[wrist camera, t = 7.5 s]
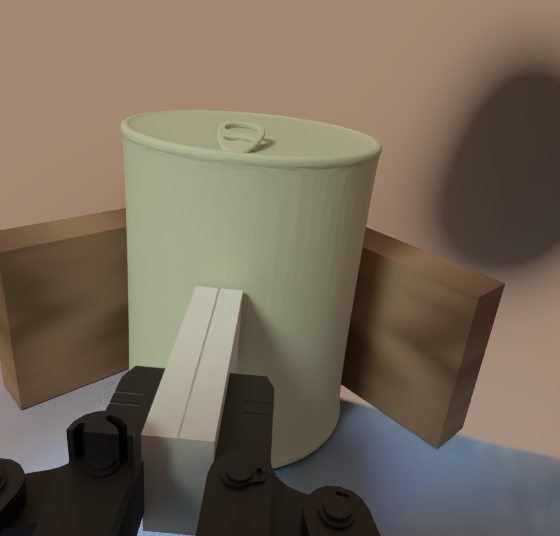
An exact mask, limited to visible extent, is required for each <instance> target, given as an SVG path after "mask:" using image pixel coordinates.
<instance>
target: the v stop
mask: <svg viewBox="0 0 560 536" xmlns="http://www.w3.org/2000/svg"><path fill="white" fill-rule="evenodd" d="M504 286H505V283H503V282H500V281H498V280H495V279H493V278H490V277H488V276H485V275H483V274H481V273H478V272H475V271H473V270H471V269H468V268H466V267H463V266H461V265H458V264H456V263H453V262H451V261H449V260H446V259H444V258H441V257H439V256H436V255H434V254H431V253H428V252H426V251H424V250H421V249H419V248H416V247H414V246H412V245H409V244H407V243H404V242H401V241H399V240H397V239H394V238H392V237H389V236H387V235H384V234H382V233H379V232H377V231H375V230H372V229H370V228H367V227H366V229H365V235H364V241H363V247H362V253H361V259H360V265H359V271H358V277H357V283H356V289H355V294H354V300H353V306H352V312H351V319H350V325H349V331H348V337H347V344H346V350H345V357H344V364H343V371H342V378H341V385H343V386H345V387H346V388H347V389H349V390H350V391H352V392H353V393H355V394H356V395H358V396H359V397H361V398H362V399H364V400H365V401H367V402H368V403H370V404H371V405H373V406H374V407H376V408H377V409H379V410H380V411H382V412H383V413H385V414H386V415H388V416H389V417H391V418H392V419H394V420H395V421H397V422H398V423H400V424H401V425H403V426H404V427H405V428H407V429H408V430H410V431H411V432H413V433H414V434H416V435H417V436H419V437H420V438H422V439H423V440H425V441H426V442H428V443H429V444H431V445H432V446H434V447H435V448H437V449H438V448H439V447H440V446H441V445H442V444H444V443H445V442H446V441H447V440H448V439H450V438H451V437H452V436H453V435H455V434H456V433H457V432H458V431H459V430H461V429H462V427H463V424H464V421H465V418H466V414H467V411H468V407H469V404H470V401H471V397H472V394H473V390H474V387H475V384H476V380H477V377H478V373H479V370H480V367H481V363H482V360H483V357H484V353H485V349H486V347H487V343H488V340H489V336H490V333H491V330H492V326H493V323H494V319H495V316H496V313H497V309H498V306H499V303H500V299H501V296H502V292H503V289H504ZM0 362H1V368H2V375H3V381H4V386H5V387H6V388H7V390H8V391H9V393H10V394H11V396H12V397H13V399H14V400H15V401H16V403H17V404H18V406H19V407H20V409H21V410H22V409H25V408H28V407H30V406H33V405H35V404H38V403H41V402H43V401H46V400H48V399H51V398H54V397H56V396H59V395H61V394H64V393H66V392H69V391H72V390H74V389H77V388H79V387H82V386H85V385H87V384H90V383H92V382H95V381H97V380H100V379H103V378H105V377H108V376H110V375H113V374H116V373H118V372H121V371H123V370H126V369H129V311H128V263H127V228H126V208H125V209H120V210H114V211H108V212H102V213H96V214H91V215H85V216H80V217H74V218H68V219H62V220H57V221H51V222H45V223H40V224H34V225H28V226H23V227H17V228H11V229H6V230H0Z"/></svg>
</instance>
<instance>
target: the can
mask: <svg viewBox="0 0 560 536" xmlns="http://www.w3.org/2000/svg"><path fill="white" fill-rule="evenodd" d="M120 128H121V133H122V137H123V150H124V169H125V190H126V228H127V263H128V311H129V371H130V370H131V369H132V368H133V367H135V366H145V367H156V368H166V366H167V363H168V360H169V358H170V355H171V352H172V350H173V347H174V344H175V342H176V339H177V336H178V333H179V331H180V328H181V325H182V323H183V320H184V317H185V315H186V312H187V309H188V306H189V304H190V301H191V298H192V296H193V293H194V290H195V288H196V286H202V287H212V288H222V289H233V290H243V296H242V309H241V323H240V337H239V351H238V364H237V370H236V374H246V375H257V376H267V377H268V379H269V380H270V382H271V384H272V386H273V388H274V389H275V390H274V409H273V428H272V447H271V465H272V468H273V469H274V468H278V467H282V466H285V465H287V464H290V463H293V462H296V461H298V460H300V459H302V458H304V457H305V456H307V455H309V454H310V453H312V452H314V451H315V450H316V449H318V448H319V447H320V446H321V445H322V444H323V443H324V442H325V441H326V440H327V439H328V438H329V436H330V435H331V434H332V432H333V430H334V429H335V427H336V425H337V422H338V419H339V415H340V396H339V395H340V386H341V378H342V371H343V364H344V357H345V350H346V344H347V337H348V331H349V325H350V319H351V312H352V306H353V300H354V294H355V289H356V283H357V277H358V271H359V265H360V259H361V253H362V247H363V241H364V235H365V229H366V223H367V217H368V211H369V206H370V201H371V196H372V190H373V185H374V180H375V174H376V169H377V165H378V160H379V157H380V154H381V151H382V146H381V144H380V142H379V141H377V140H376V139H375V138H373V137H371V136H369V135H367V134H364V133H362V132H359V131H356V130H352V129H349V128H345V127H341V126H337V125H332V124H328V123H323V122H318V121H311V120H306V119H299V118H293V117H285V116H277V115H268V114H259V113H247V112H234V111H213V110H175V111H174V110H173V111H158V112H149V113H142V114H137V115H134V116H131V117H128V118H126V119H125V120H123V122H122V123H121V127H120Z"/></svg>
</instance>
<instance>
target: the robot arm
mask: <svg viewBox="0 0 560 536" xmlns="http://www.w3.org/2000/svg"><path fill="white" fill-rule="evenodd" d="M242 296H243V290H233V289H222V288H212V287H202V286H196V288H195V290H194V293H193V296H192V298H191V301H190V304H189V306H188V309H187V312H186V315H185V317H184V320H183V323H182V325H181V328H180V331H179V333H178V336H177V339H176V342H175V344H174V347H173V350H172V352H171V355H170V358H169V360H168V363H167V366H166V368H156V367H145V366H135V367H133V368H132V369H131V370H130V371H128V372H127V373H126V374H125V375H124V376H122V378H121V380H120V382H119V384H118V386H117V388H116V390H115V393H114V394H113V396H112V399H111V401H110V404H109V405H108V407H107V409H106V411H97V412H93V413H90V414H86V415H84V416H82V417H80V418H79V419H77V420H75V421H74V422H73V423H72V424H71V425H70V426H69V427H68V429H67V430H66V431H67V442H68V452H69V463H68V464H66V465H64V466H61V467H59V468H55V469H51V470H45V471H39V472H33V473H27V474H25V473H24V471H23V469H22V467H21V465H20V464H18V463H16V462H15V461H13V460H11V459H3V458H0V536H137V533H138V530H139V527H140V523H141V520H142V517H143V531H151V532H162V533H174V534H183V535H195V536H380V534H379V531H378V529H377V527H376V524H375V522H374V520H373V517H372V515H371V513H370V510H369V508H368V507H367V506H366V504H365V503H364V501H363V500H362V498H360V497H359V496H358V495H356V494H355V493H354V492H352V491H350V490H347V489H345V488H342V487H337V486H325V487H322V488H318V489H316V490H314V491H313V492H312V493H311V494H309V495H307V494H304V493H302V492H299V491H296V490H294V489H292V488H290V487H288V486H287V485H285V484H284V483H283V482H282V481H280V480H279V478H278V477H277V476H276V475H275V473H274V471H273V468H272V465H271V447H272V428H273V409H274V390H275V389H274V388H273V386H272V384H271V382H270V380H269V379H268V377H267V376H257V375H246V374H236V370H237V364H238V351H239V337H240V323H241V309H242Z"/></svg>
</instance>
